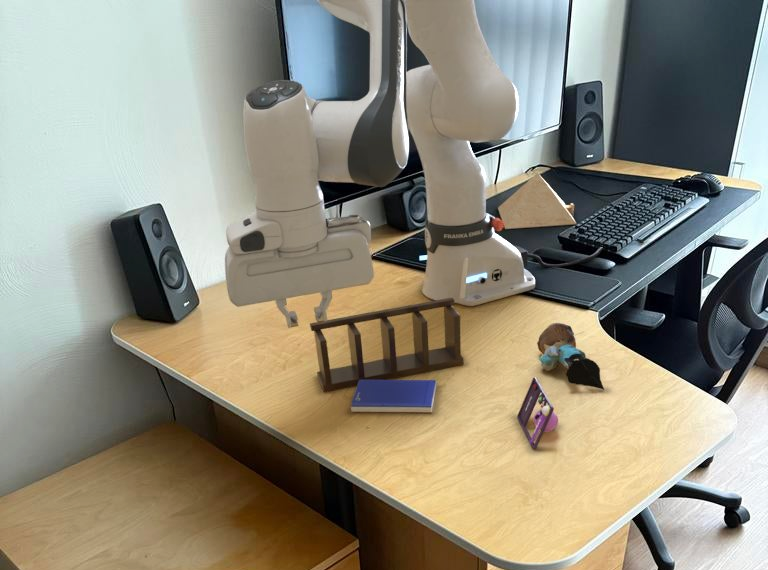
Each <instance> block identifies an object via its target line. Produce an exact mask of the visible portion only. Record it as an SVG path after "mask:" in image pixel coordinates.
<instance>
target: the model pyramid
mask: <svg viewBox="0 0 768 570" xmlns="http://www.w3.org/2000/svg"><path fill="white" fill-rule="evenodd" d="M497 210H498V213H499V215H500V219H501V220H502V222H504V223H503V224H504V229H505V230H511V229H524V228H525V229H527V228H539V227H540V228H541V227H554V226H569V225H577V222H576V220H575V219H574V213H575V204H574V203H573V202H572V203H570V204H566V203H565V202H564V200H562V199H561V197H560V196H559V195H558V194H557V192H556V191H555V190H554V189H553V188H552V187H551V186H550V184H549V183H548V182H547V181H546V180H545V178H543V177H542V176H541V174H540V173H539V172H537V173H535V174H534V176H532V177H531V178H530V179H528V180H527V181H526V182H525V183H524V184H522V186H521V187H519V189H517V190H516V191H515V192H514V193H513V194H512V195H511V196H509V197H508V198H507V199H506V200H505V201H504V202H503V203H502V204H500V205H499V206H498V207H497Z"/></svg>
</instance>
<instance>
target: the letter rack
mask: <svg viewBox="0 0 768 570" xmlns="http://www.w3.org/2000/svg"><path fill="white" fill-rule="evenodd" d="M453 306H455V303H454V299H453V298H447V299H441V300H430V301H425V302H420V303H413V304H409V305H403V306H398V307H393V308H392V307H391V308H386V309H380V310H376V311H370V312H369V311H368V312H365V313H358V314H353V315H349V316H341V317H336V318H332V319H327V321H324V322H319V323H317V321H316V322H315V321H314V322H309V328H310V331H311V332H313V333H314V340H315V341H314V342H315V347H316V354H317V355H316V356H317V362H318V369H319V370H318V371H316V377H317V380H318V383H319V384H320V387H321V389H322V391H323V393H325V392H326V393H327V392H331V391H336V390H342V389H346V388H347V389H348V388H352V387H357V385H358V382H359V380H394V379H397V378H402V377H407V376H413V375H417V374H423V373H427V372H432V371H437V370H443V369H447V368H452V367H459V366H463V365H464V363H465V361H464V360H465V359H464V357H463V356H462V354H461V347H462V346H461V314H459V313H458V312H457V310H456V309H455V308H454V307H453ZM440 308H443V314H444V315H443V316H444V317H443V318H444V319H443V321H444V322H443V323H444V347H443V346H442V347H438V348H433V349H429V328H428V324H429V323H428V320H427V319H426V318H425V316H424V315H423V314H422V313H421V312H424V311H431V310H434V309H435V310H436V309H440ZM408 314H409V315H410V314H411V315H412V334H413V335H412V336H413V351H414V352H413V353H407V354H403V355H398V356H397V348H396V347H397V346H396V334H395V326H393V324H392V322H391V321H390V320H389V318H392V317H397V316H403V315H408ZM375 320H379V322H380V323H379V324H380V333H381V334H380V335H381V336H380V337H381V347H382V358H381V359H376V360H371V361H366V362H364V355H363V345H362V335H361V333H360V331H359V329H358V327H357V326H356V324H359V323H364V322H365V323H366V322H370V321H375ZM343 326H347V336H348V344H349V353H350V361H351V365H346V366H340V367H335V368H331V365H330V358H329V357H330V356H329V352H328V351H329V350H328V344H327V339H326V337H325V335H324V333H323V331H322V330H327V329H331V328H336V327H343Z"/></svg>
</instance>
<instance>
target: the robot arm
mask: <svg viewBox="0 0 768 570" xmlns="http://www.w3.org/2000/svg"><path fill="white" fill-rule="evenodd" d="M316 2H318V4H319V5H320V6H321V7H323V9H324V10H326V11H327V12H328V13H330V14H331V15H333V16H334V17H335V18H337V19H340V20H342V21H344V22H347V23H349V24H351V25H354V26H356V27H359V28H361V29H363V30H364V31H366V32H367V33H369V90H368V92H367V94H365V96H363V97H362V98H360V99H358V100H317V99H315V98H311V97H309V96H307V92H306V90H305V87H304V86H303V84H301V83H300V82H298V81H295V80H291V79H281V80H280V79H278V80H272V81H270V82H267V83H262V84H260V85H258V86H255V87H254V88H253V89H251V90H250V91H248V93H247V94H246V95H245V97H244V100H243V116H242V117H243V118H242V119H243V134H244V145H245V152H246V158H247V165H248V169H249V173H250V175H251V177H252V179H253V182H254V187H255V197H254V205H255V211H253V212H251V213H249V214H247V215H246V216H243V217H242V218H240V219H237V220H236V221H234V222H232V223H230V224H229V225H227V226H226V228H225V237H226V241H227V245H228V247H227V249H226V251H225V256H224V274H225V283H226V289H227V295H228V299H229V301H230V303H232V304H233V305H234V306H235V307H238V308H240V307H246V306H250V305H251V306H252V305H257V304H262V303H268V302H275V305H276V308H277V309H278V310H279V311H280V312H281V314H282V315H283V316H284V317H285V322H286V326H287V329H291V328H296V327H299V321H298V320H299V319H298V315H297V313H296V310H288V308H287V305H288V303H287V299H291V298H297V297H303V296H308V295H314V294H320V296H321V300H320V302H319V305H317V306H314V307H313V311H314V319H315V321H316V322H317V323H319V322H324V321H327V320H328V315H327V314H328V313H327V310H328V309H329V306H330V304H331V302H332V299H333V291H338V290H343V289H348V288H354V287H360V286H366V285H369V284H371V282H372V280H373V279H374V277H375V272H374V265H373V260H372V254H371V250H370V247H369V245H370V243H371V241H372V230H371V224H370V222H369V221H368V219H367V218H365V217H363V216H359V214H349V215H347V216H339V217H338V216H337V217H328V218H327V215H326V207H325V200H324V193H323V191H322V189H321V188H322V187H321V185H320V182H319V181H322V182H328V183H329V182H330V183H353V184H354V183H355V184H358V185H363V186H371V187H377V188H383V187H386V186H387V185H388V184H390V183H391V182H392V181H394V180H395V179H396V178H397V177H398V176H399V175H400V174H401V173H402V171H403V170H405V167H406V166H407V164H408V160H409V155H410V154H409V153H410V136H409V134H410V135H411V136H412V139H413V141H414V144H415V147H416V150H417V153H418V157H419V159H420V163H421V166H422V170H423V175H424V182H425V183H424V184H425V200H426V217H425V220H424V243H425V248H426V255H419V261H425V260H426V266H425V272H424V273H425V274H424V278H423V283H422V287H421V292H422V294H423V295H424V296H425V297H426V298H428V299H430V300H432V301H436V300H441V299H447V298H453V299H454V304H460V305H463V306H468V307H474V306H478V305H482V304H485V303H488V302H493V301H497V300H500V299H503V298H507V297H511V296H514V295H518V294H522V293H524V292H529V291H531V290H535V288H536V279H535V277H534V275H533V273H531V272H530V271H529V270H527V269H526V267H528V258H532V259H534V260H536V261H537V263H538V264H539V266H540V267H543V268H558V267H570V266H575V265H578V264H581V263H584V262H587V261H590V260H592V259H595V258H597V256H599V255H600V254H601V252H602V251H603V250H605V249H606V248H603V247H601V246H600V247H599V248H598V249H597V250H596V251H595V252H594V253H593V254H591V255H589V256H586V257H582V258H579V259H576V260H573V261H570V262H565V263H559V264H557V263H556V264H553V263H552V264H551V263H547V262H546V263H545V262H543V261H542V259H541V257H540V256H539V255H537V254H534V253H528V250H526V249H524V248H522V247H520V246H518V245H513V244H511V243H510V242H509V241H507V240H506V239H505V238H503V237H502V236H500V235H499V234H497V233H496V232H501V231H503V229H505V227H504V224H503V223H504V222H503V221H502V219H501V218H500V217H495V216H494V215H492V214H489V213H487V210H486V209H487V208H486V207H487V175H486V171H485V169H484V166H483V165H482V164H481V163H480V160H478V159H477V157H476V155H475V154H474V152H473V150H472V147H471V144H470V143H475V144H477V143H487V142H493V141H498V140H501V139H503V138H504V137H505V136H507V134H509V133H510V131H511V130H512V128H513V127H514V124H515V123H516V120H517V117H518V114H519V113H518V112H519V105H520V104H519V102H520V101H519V94H518V90H517V88H516V86H515V84H514V83H513V82H512V80H511V79H510V78H509V77H508V76H507V75H506V74H505V73H503V71H502V69H501V68H500V67H499V66H498V64H497V62H496V60H495V59H494V57H493V55H492V53H491V51H490V48H489V47H488V45H487V43H486V40H485V37H484V35H483V32H482V29H481V27H480V23H479V19H478V16H477V9H476V4H475V0H316ZM407 34H409V37H410V39H411V41H412V43H413V44H414V45H415V47H416V48H418V49H419V51H420V52H421V53H422V54H423V55H424V57H425V58H426V60H427V62H428V63H429V64H427V65H422V66H418V67H415V68H412V69H409V70H408V71H407V68H408V67H407V66H408V64H407V62H408V61H407V60H408V59H407V57H408V55H407V54H408V35H407ZM495 231H496V232H495ZM634 241H635V242H638V243H639V244H644V243H645V242H644V241H643V239H641V238H640V239H637V240H634Z"/></svg>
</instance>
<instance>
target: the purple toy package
mask: <svg viewBox="0 0 768 570" xmlns="http://www.w3.org/2000/svg"><path fill="white" fill-rule="evenodd" d="M537 402H538V404H539V406H540V409H539V410H537V411H536V412H535V414H534V415H533V423H534V425H535V429H534V431H533V434H532V436H531V434H530V432H529V430H528V428H527V426H528V423H529V421H530V418H531V416H532V414H533V411H534V409H535V407H536V405H537ZM554 410H555V408H554V406H553V404H552V402H551V400H550V398H549V397H548V395H547V394H546V391H545V390H544V388H543V387H542V385H541V383H540V381H539V380H538V378H537V377H533V378H532V379H531V383H530V385H529V388H528V389H527V392H526V395H525V396H524V399H523V401H522V404H521V406H520V409H519V411H518V414H517V416H516V418H517V419H518V422H519V425H520V426H521V429H522V430H523V433H524V434H525V437H526V438H527V441H528V442H529V445H530V447H531V449H532V450H537V448H538V446H539V444H540V441H541V439H542V437H543V435H544V432H545V433H548V432H552V431H554V430H555V429H556V428H557V426H558V424H559V417H558V415H557V414H556V412H555V411H554Z"/></svg>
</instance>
